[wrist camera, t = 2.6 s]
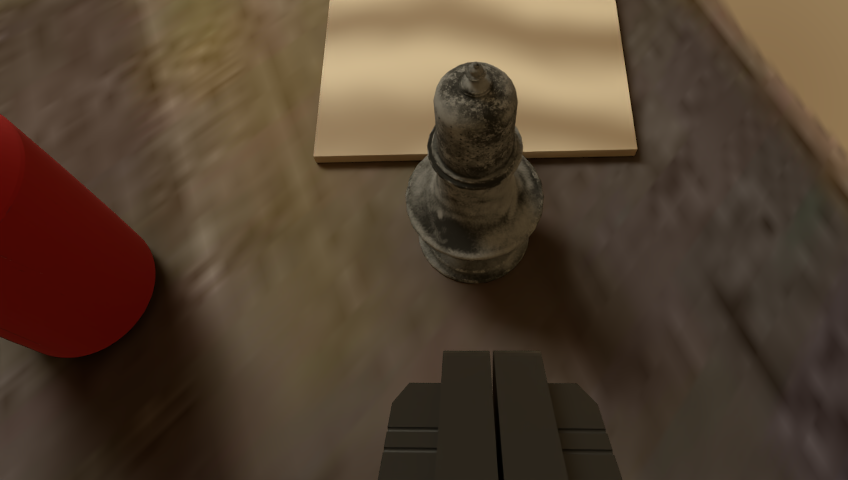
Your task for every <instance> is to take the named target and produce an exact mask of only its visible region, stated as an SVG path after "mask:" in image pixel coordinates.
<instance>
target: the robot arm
mask: <svg viewBox="0 0 848 480" xmlns="http://www.w3.org/2000/svg"><path fill="white" fill-rule="evenodd" d="M378 480H622V477H621V474H620V471H619V468H618V465H617V462H616V459H615V456H614V455H613V453H612V447H611V444H610V441H609V438H608V435H607V434H606V431H605V426H604V423H603V420H602V417H601V414H600V411H599V408H598V404H597V403H596V402H595V401H594V400H593V399H592V398H591V397H590V396H589V395H588V394H587V393H586V392H585V391H584V390H583V389H582V388H581V387H580V386H579V385H577V384H566V383H547V378H546V374H545V369H544V365H543V360H542V355H541V352H540V351H493V395H492V380H491V365H490V352H489V351H443V363H442V378H441V383H409V384H408V385H407V386H406V387H405V389H404V390H403V391H402V392H401V393H400V394H399V396H398V397H397V398H396V399H395V400H394V401H393V403H392V407H391V412H390V417H389V423H388V432H387V433H386V439H385V444H384V452H383V455H382V460H381V466H380V471H379V476H378Z"/></svg>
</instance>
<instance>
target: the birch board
mask: <svg viewBox="0 0 848 480" xmlns="http://www.w3.org/2000/svg"><path fill="white" fill-rule="evenodd" d="M467 62H483V63H487V64H490V65H493V66H495V67H497V68H498V69H500V70H502V71H503V72H505V73H506V74H507V76H508V77H509V78H510V79H511V80H512V82H513V84H514V86H515V89H516V93H517V99H518V106H517V115H516V123H515V126H516V127H517V129H518V131H519V133H520V135H521V137H522V143H523V153H522V155H523V156H524V157H525V158H556V157H602V156H635V153H636V151H637V143H636V136H635V130H634V123H633V116H632V109H631V103H630V96H629V89H628V82H627V75H626V69H625V62H624V55H623V48H622V41H621V35H620V28H619V21H618V14H617V7H616V1H615V0H330V4H329V14H328V23H327V33H326V42H325V52H324V61H323V71H322V80H321V90H320V100H319V109H318V119H317V128H316V138H315V147H314V159H315V161H316V163H325V162H371V161H417V160H423V159H424V158H425V157H426V156H427V155H428V151H427V143H428V139H429V135H430V133H431V131H432V129H433V127H434V126H435V113H434V102H433V100H434V95H435V91H436V87H437V85H438V83H439V81H440V80H441V78H442V77H443V76H444V75H445V74H446V73H447V72H448V71H450V70H452V69H453V68H455V67H457V66H458V65H461V64H464V63H467Z"/></svg>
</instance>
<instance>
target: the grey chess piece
mask: <svg viewBox="0 0 848 480" xmlns="http://www.w3.org/2000/svg"><path fill="white" fill-rule="evenodd" d="M433 102H434V113H435V126H434V127H433V129H432V131H431V133H430V135H429V139H428V143H427V151H428V155H427V156H426V157H425V158H424V159H423V160H422V161H421V162H420V163H419V164H418V165H417V166H416V168H415V170H414V172H413V174H412V175H411V177H410V179H409V183H408V187H407V191H406V207H407V213H408V216H409V218H410V221H411V224H412V226H413V228H414V229H415V230H416V232H417V233H418V234H419V243H420V245H421V248H422V251H423V254H424V256H425V257H426V259H427V260H428V261H429V263H430V264H431V265H432V267H434V268H435V269H436V270H438V271H439V272H440V273H441V274H443V275H444V276H446V277H449V278H451V279H453V280H456V281H460V282H466V283H483V282H489V281H492V280H495V279H497V278H500V277H502V276H504V275H505V274H507V273H508V272H510V271H511V270H513V269H514V267H515V266H516V265H517V264H518V263H519V262H520V260H521V259H522V258H523V255H524V253H525V251H526V249H527V247H528V241H529V236H530V235H531V234H532V232H533V231H534V230H535V228H536V226H537V224H538V221H539V219H540V217H541V215H542V208H543V201H544V195H543V189H542V183H541V181H540V179H539V176H538V174H537V172H536V170H535V168H534V167H533V166H532V165H531V164H530V162H529V161H528V160H527V159H526V158H525V157H524V156H523V155H522V153H523V143H522V137H521V135H520V133H519V131H518V129H517V127H516V126H515V123H516V115H517V106H518V99H517V93H516V89H515V86H514V84H513V82H512V80H511V79H510V78H509V77H508V76H507V74H506V73H505V72H503V71H502V70H500V69H498V68H497V67H495V66H493V65H490V64H487V63H483V62H467V63H464V64H461V65H458V66H457V67H455V68H453V69H452V70H450V71H448V72H447V73H446V74H445V75H444V76H443V77H442V78H441V80H440V81H439V83H438V85H437V87H436V91H435V95H434V100H433Z"/></svg>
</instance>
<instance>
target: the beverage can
mask: <svg viewBox="0 0 848 480" xmlns="http://www.w3.org/2000/svg"><path fill="white" fill-rule="evenodd" d="M154 285H155V263H154V259H153V256H152V253H151V251H150V249H149V247H148V246H147V244H146V243H145V241H144V240H143V239H142V238H141V237H140V236H139V235H138V234H137V233H136V232H135V231H134V230H132V229H131V228H130V227H129V226H128V225H127V224H126V223H125V222H124V221H123V220H122V219H120V218H119V217H118V216H117V215H116V214H115V213H114V212H113V211H112V210H111V209H109V208H108V207H107V206H106V205H105V204H104V203H103V202H102V201H101V200H99V199H98V198H97V197H96V196H95V195H94V194H93V193H92V192H90V191H89V190H88V189H87V188H86V187H85V186H84V185H83V184H81V183H80V182H79V181H78V180H77V179H76V178H75V177H73V176H72V175H71V174H70V173H69V172H68V171H67V170H65V169H64V168H63V167H62V166H61V165H60V164H59V163H58V162H56V161H55V160H54V159H53V158H52V157H51V156H49V155H48V154H47V153H46V152H45V151H44V150H42V149H41V148H40V147H39V146H38V145H37V144H35V143H34V142H33V141H32V140H31V139H30V138H28V137H27V136H26V135H25V134H24V133H23V132H21V131H20V130H19V129H18V128H17V127H16V126H14V125H13V124H12V123H11V122H10V121H9V120H7V119H6V118H5V117H4V116H2V115H1V114H0V337H1V338H4V339H6V340H9V341H12V342H14V343H17V344H19V345H22V346H25V347H27V348H30V349H33V350H35V351H38V352H41V353H43V354H46V355H49V356H53V357H59V358H74V357H81V356H85V355H89V354H92V353H95V352H98V351H100V350H102V349H104V348H106V347H108V346H110V345H112V344H113V343H115V342H116V341H118V340H119V339H120V338H122V337H123V336H124V335H125V334H126V333H127V332H128V331H129V330H130V329H131V328H132V327H133V326H134V325H135V324H136V323H137V322H138V320H139V319H140V317H141V316H142V314H143V313H144V311H145V310H146V308H147V306H148V304H149V301H150V299H151V296H152V293H153V290H154Z"/></svg>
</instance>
